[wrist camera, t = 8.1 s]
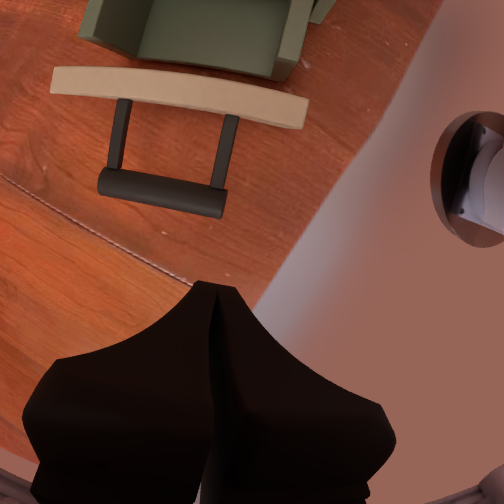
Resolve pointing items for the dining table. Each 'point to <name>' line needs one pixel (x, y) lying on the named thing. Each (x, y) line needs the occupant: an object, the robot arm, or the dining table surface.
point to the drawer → (189, 79)
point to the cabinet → (320, 10)
